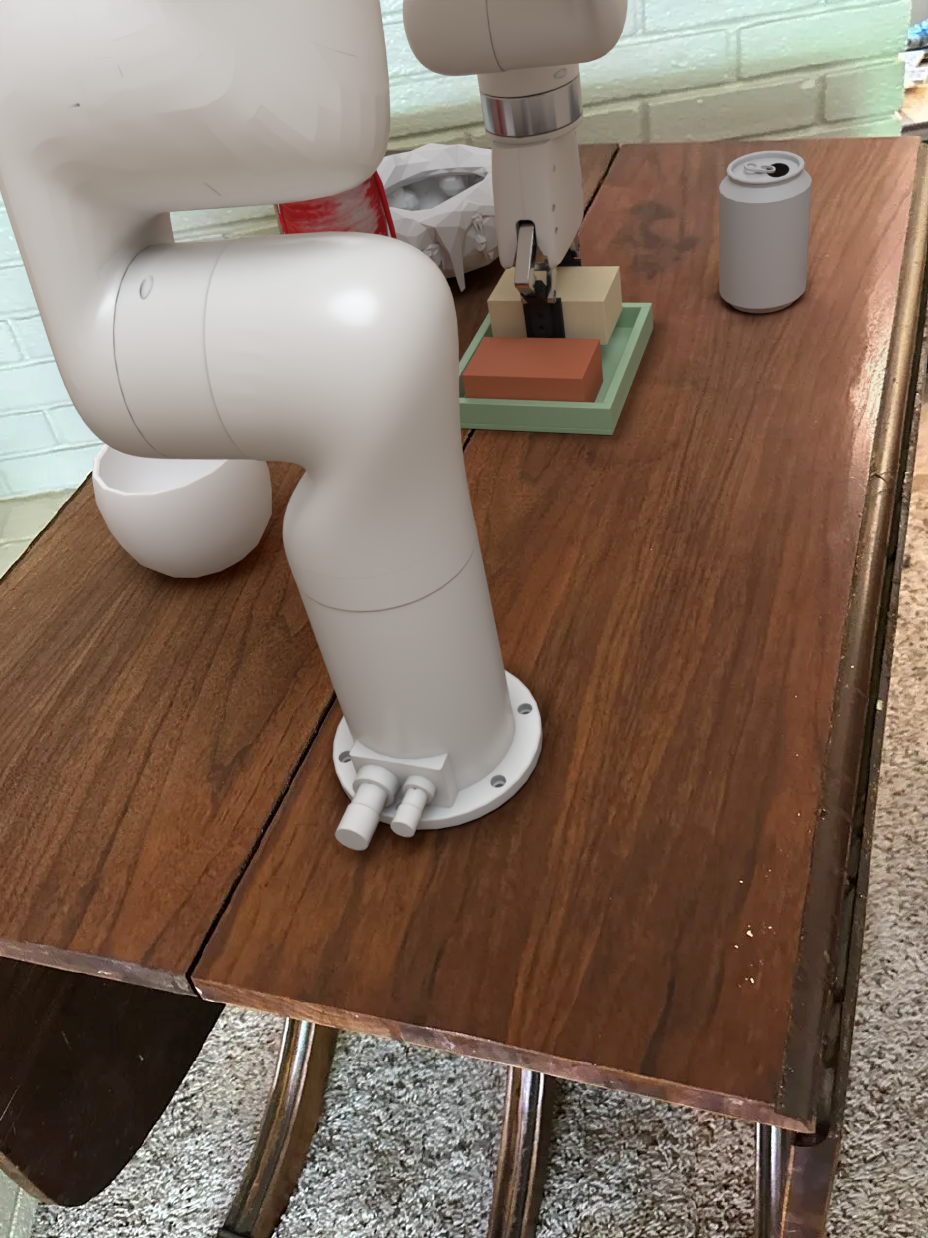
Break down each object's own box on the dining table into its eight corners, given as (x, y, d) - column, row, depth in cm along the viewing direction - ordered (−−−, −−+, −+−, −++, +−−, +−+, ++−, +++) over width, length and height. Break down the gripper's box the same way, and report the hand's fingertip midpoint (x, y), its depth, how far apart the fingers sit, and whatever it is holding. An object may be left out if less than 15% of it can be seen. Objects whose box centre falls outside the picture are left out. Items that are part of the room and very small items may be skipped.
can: (806, 315, 94) (814, 177, 86) (717, 319, 96) (717, 185, 88) (804, 274, 99) (812, 140, 91) (720, 279, 101) (720, 149, 93)
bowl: (307, 285, 114) (281, 191, 108) (449, 209, 123) (433, 118, 116) (434, 338, 102) (413, 235, 95) (583, 248, 110) (573, 149, 103)
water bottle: (289, 435, 93) (192, 140, 77) (318, 384, 99) (234, 99, 82) (421, 434, 90) (351, 126, 73) (444, 382, 96) (383, 84, 79)
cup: (121, 538, 86) (72, 437, 80) (266, 483, 89) (230, 381, 82) (149, 629, 78) (97, 524, 71) (310, 565, 80) (273, 458, 73)
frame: (612, 435, 86) (610, 408, 84) (440, 427, 90) (435, 401, 89) (653, 328, 96) (652, 302, 95) (498, 326, 101) (494, 301, 100)
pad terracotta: (586, 422, 87) (582, 378, 84) (469, 416, 90) (461, 374, 87) (603, 381, 91) (599, 338, 88) (490, 377, 94) (483, 336, 91)
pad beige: (607, 344, 90) (603, 300, 87) (493, 342, 94) (486, 300, 91) (622, 309, 94) (619, 265, 91) (513, 308, 97) (507, 266, 95)
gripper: (516, 68, 88) (541, 274, 101) (448, 153, 77) (486, 374, 89) (606, 61, 86) (621, 274, 98) (550, 149, 74) (574, 377, 87)
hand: (556, 320), depth 93 cm, fingers closed on pad beige, 6 cm apart
